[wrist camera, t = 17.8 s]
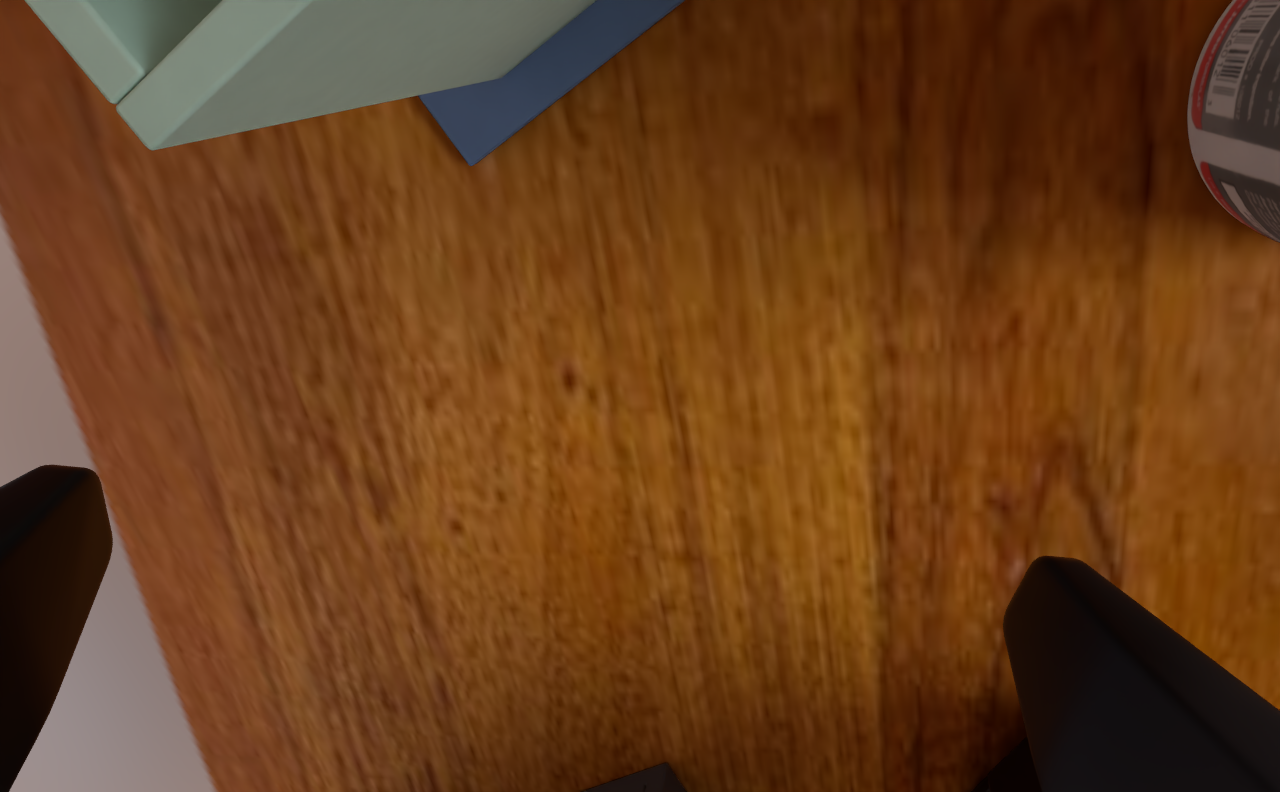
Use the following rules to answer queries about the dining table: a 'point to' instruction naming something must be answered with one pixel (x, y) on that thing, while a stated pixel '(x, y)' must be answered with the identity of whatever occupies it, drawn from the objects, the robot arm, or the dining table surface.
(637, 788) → the charcoal basket
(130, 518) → the dining table surface
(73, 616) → the robot arm
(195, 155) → the dining table surface
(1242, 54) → the pill bottle
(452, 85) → the green basket
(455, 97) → the mat
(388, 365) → the dining table surface
